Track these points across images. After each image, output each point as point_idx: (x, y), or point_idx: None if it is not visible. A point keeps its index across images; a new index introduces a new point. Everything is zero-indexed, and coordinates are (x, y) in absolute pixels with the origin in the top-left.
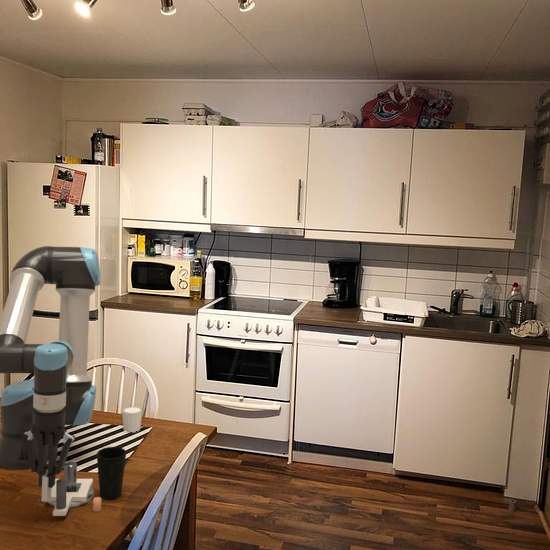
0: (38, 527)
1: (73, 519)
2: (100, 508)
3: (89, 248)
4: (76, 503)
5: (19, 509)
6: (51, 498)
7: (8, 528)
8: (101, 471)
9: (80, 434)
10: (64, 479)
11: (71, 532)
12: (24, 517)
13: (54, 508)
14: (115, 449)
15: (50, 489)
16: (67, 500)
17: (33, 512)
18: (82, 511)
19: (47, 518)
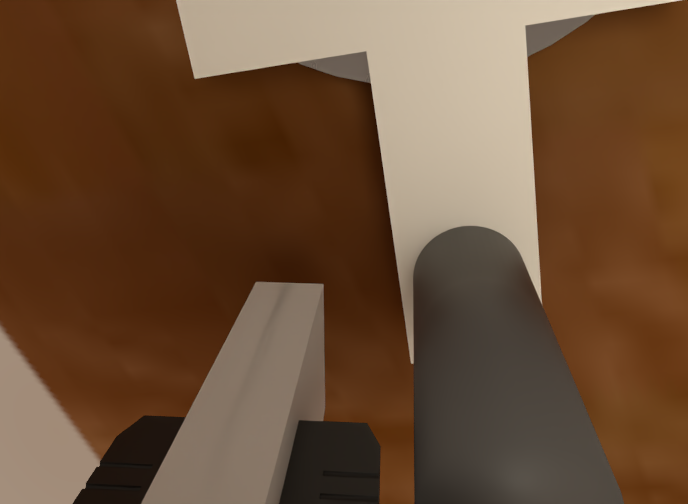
0: (331, 413)
1: (598, 273)
2: None
3: None
4: (574, 25)
5: (16, 163)
6: (265, 64)
7: (113, 440)
8: None
9: None
10: (566, 468)
11: (632, 457)
12: (140, 287)
13: (405, 311)
14: None
15: (309, 373)
16: (494, 123)
17: (170, 199)
18: (659, 117)
19: (346, 282)
